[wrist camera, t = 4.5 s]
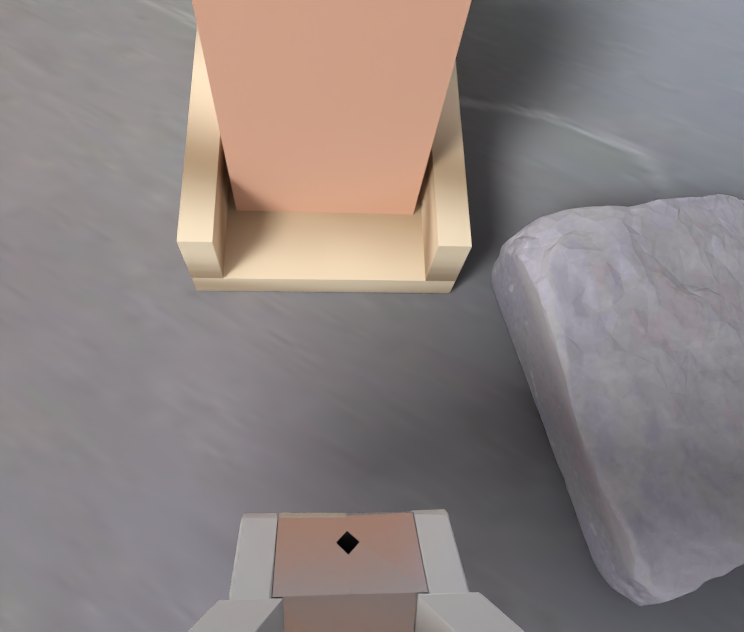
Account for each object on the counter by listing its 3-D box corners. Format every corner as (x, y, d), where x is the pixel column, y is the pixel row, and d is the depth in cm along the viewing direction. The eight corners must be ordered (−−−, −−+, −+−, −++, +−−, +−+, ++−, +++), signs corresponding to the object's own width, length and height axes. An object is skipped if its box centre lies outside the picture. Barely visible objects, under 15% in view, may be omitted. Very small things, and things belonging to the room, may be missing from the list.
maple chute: (449, 293, 23) (479, 230, 19) (196, 290, 22) (169, 224, 18) (423, -79, 30) (441, -187, 25) (227, -90, 29) (212, -203, 25)
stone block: (672, 232, 27) (457, 265, 23) (767, 164, 23) (522, 192, 19) (809, 527, 24) (581, 619, 20) (952, 512, 19) (695, 626, 16)
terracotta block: (413, 214, 23) (492, -78, 13) (236, 210, 22) (171, -96, 12) (406, 96, 25) (472, -242, 14) (243, 90, 24) (192, -264, 14)
